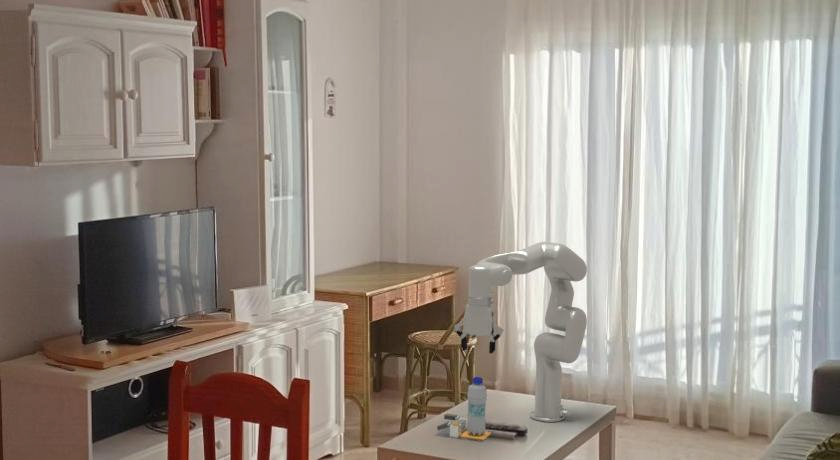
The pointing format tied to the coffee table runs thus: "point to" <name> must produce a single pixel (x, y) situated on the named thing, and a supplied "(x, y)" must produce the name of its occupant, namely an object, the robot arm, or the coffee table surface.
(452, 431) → the panel
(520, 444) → the coffee table surface
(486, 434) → the pad
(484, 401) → the bottle
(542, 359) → the robot arm
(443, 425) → the lever
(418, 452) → the coffee table surface
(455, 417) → the lever
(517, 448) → the coffee table surface
